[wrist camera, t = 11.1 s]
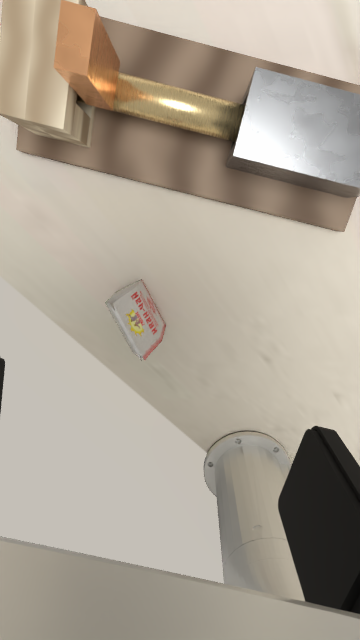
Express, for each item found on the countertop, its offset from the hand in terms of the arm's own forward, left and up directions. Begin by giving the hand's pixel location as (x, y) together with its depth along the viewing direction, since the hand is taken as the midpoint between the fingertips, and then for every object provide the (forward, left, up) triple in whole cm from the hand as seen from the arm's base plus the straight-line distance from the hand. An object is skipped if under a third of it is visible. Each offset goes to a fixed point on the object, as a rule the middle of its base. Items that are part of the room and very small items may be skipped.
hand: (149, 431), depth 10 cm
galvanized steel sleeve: (-9, -16, -32) cm, 37 cm away
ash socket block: (+16, -16, -32) cm, 39 cm away
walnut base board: (+2, -16, -33) cm, 37 cm away
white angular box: (+4, +6, -34) cm, 34 cm away
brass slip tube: (+5, -16, -30) cm, 34 cm away
